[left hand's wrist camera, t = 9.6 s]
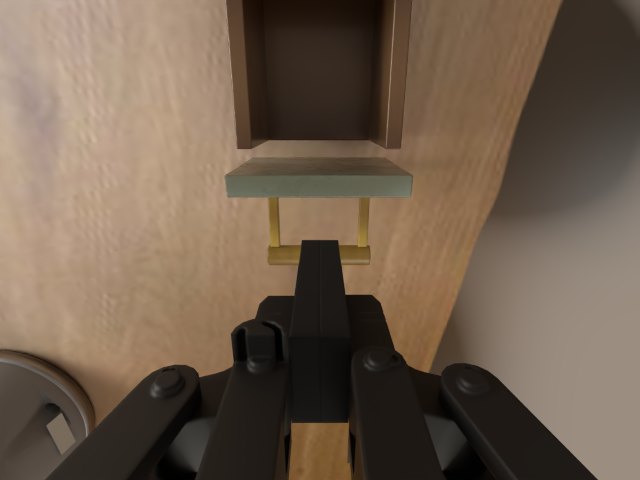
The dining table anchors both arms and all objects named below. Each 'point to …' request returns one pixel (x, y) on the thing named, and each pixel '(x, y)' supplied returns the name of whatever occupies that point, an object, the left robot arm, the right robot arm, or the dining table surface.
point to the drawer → (318, 102)
